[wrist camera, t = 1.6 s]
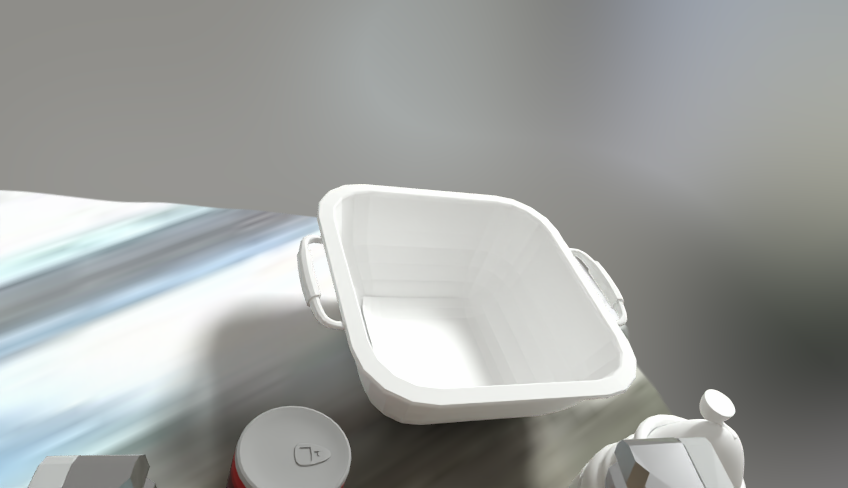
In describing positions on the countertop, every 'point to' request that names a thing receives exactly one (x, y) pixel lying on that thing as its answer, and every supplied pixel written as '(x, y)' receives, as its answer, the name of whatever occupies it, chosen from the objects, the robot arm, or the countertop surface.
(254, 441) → the canned food
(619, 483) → the robot arm
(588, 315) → the baking dish
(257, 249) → the countertop surface
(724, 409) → the honey pot
